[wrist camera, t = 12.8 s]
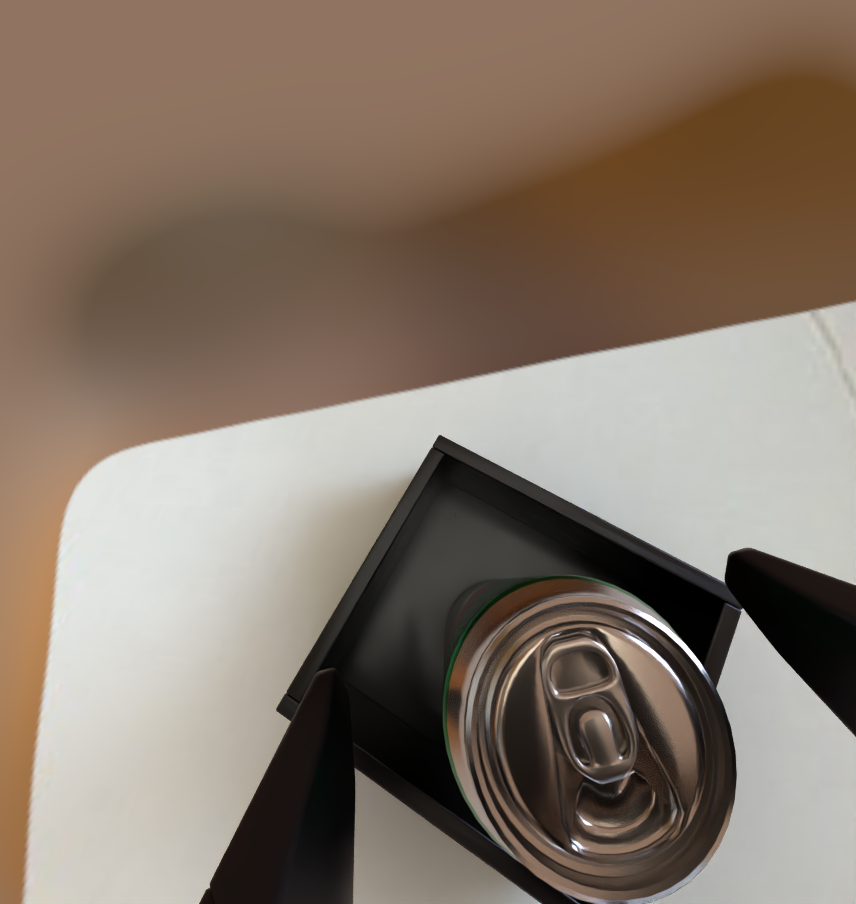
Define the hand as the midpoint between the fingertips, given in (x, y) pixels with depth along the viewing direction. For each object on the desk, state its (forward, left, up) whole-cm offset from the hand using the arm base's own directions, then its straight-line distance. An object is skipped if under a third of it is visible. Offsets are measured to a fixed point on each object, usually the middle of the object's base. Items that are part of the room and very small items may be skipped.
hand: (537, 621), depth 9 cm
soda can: (-1, -1, -10) cm, 10 cm away
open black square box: (-1, -1, -11) cm, 11 cm away
